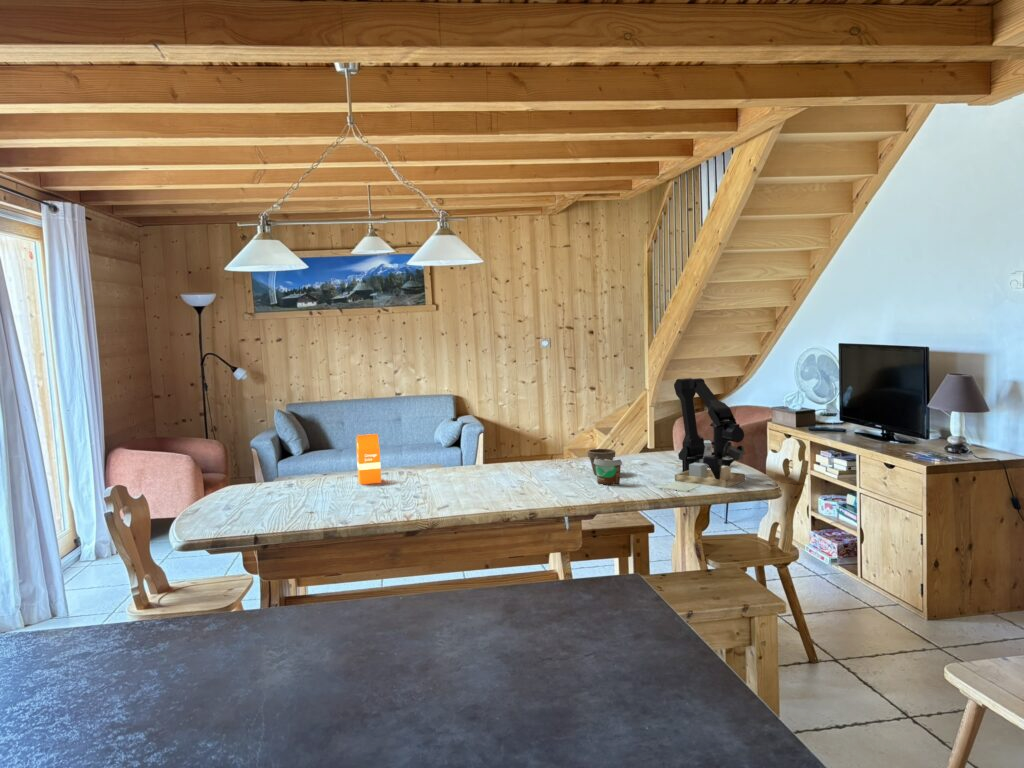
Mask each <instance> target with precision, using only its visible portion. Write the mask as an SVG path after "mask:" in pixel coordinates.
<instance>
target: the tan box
mask: <svg viewBox="0 0 1024 768" xmlns="http://www.w3.org/2000/svg"><path fill="white" fill-rule="evenodd" d="M731 467H732V466H731V465H730V466H722V467H721V471H720V480H728V479H730V478H731V472H732V471H731ZM713 479H715V477H714V475H713Z"/></svg>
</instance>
